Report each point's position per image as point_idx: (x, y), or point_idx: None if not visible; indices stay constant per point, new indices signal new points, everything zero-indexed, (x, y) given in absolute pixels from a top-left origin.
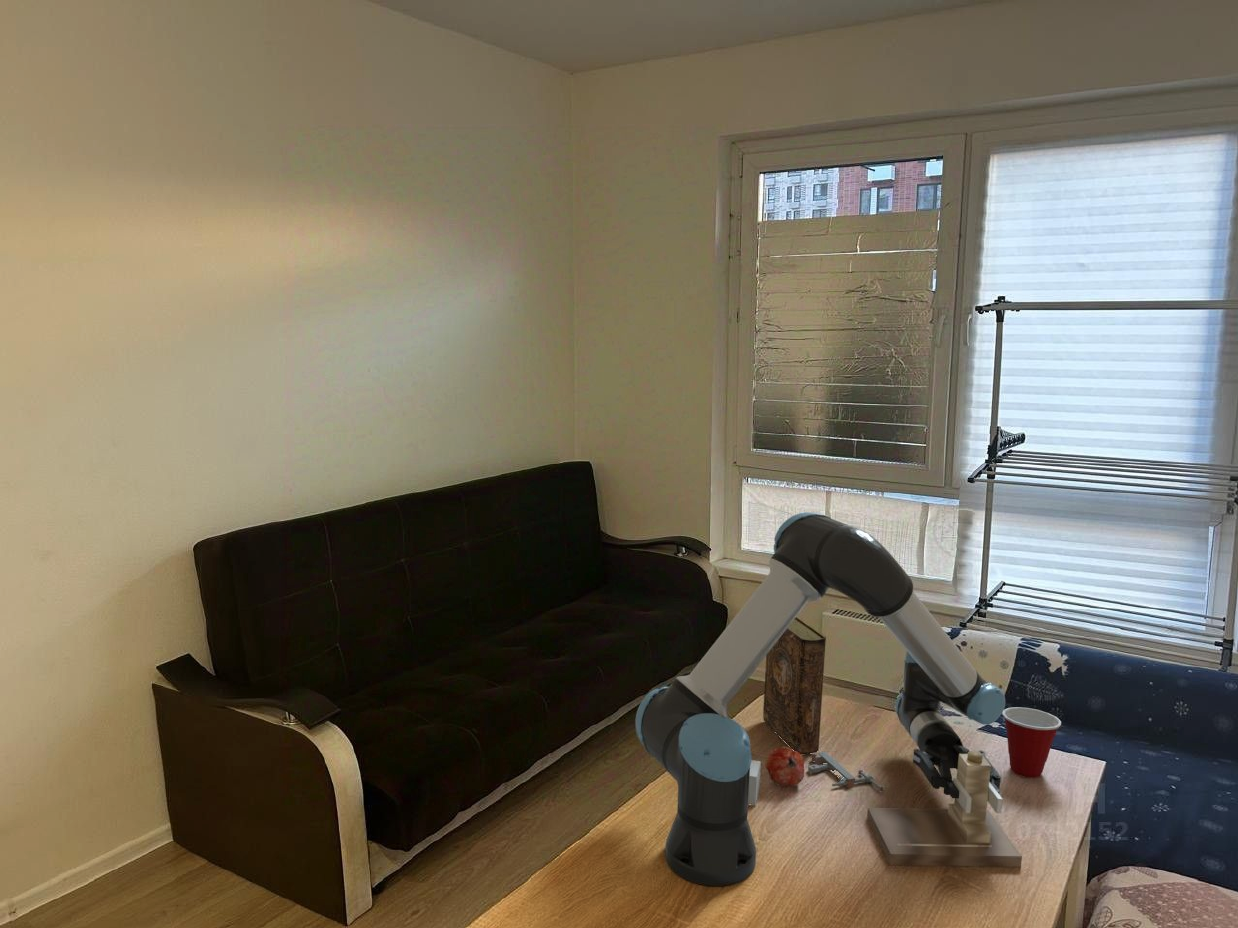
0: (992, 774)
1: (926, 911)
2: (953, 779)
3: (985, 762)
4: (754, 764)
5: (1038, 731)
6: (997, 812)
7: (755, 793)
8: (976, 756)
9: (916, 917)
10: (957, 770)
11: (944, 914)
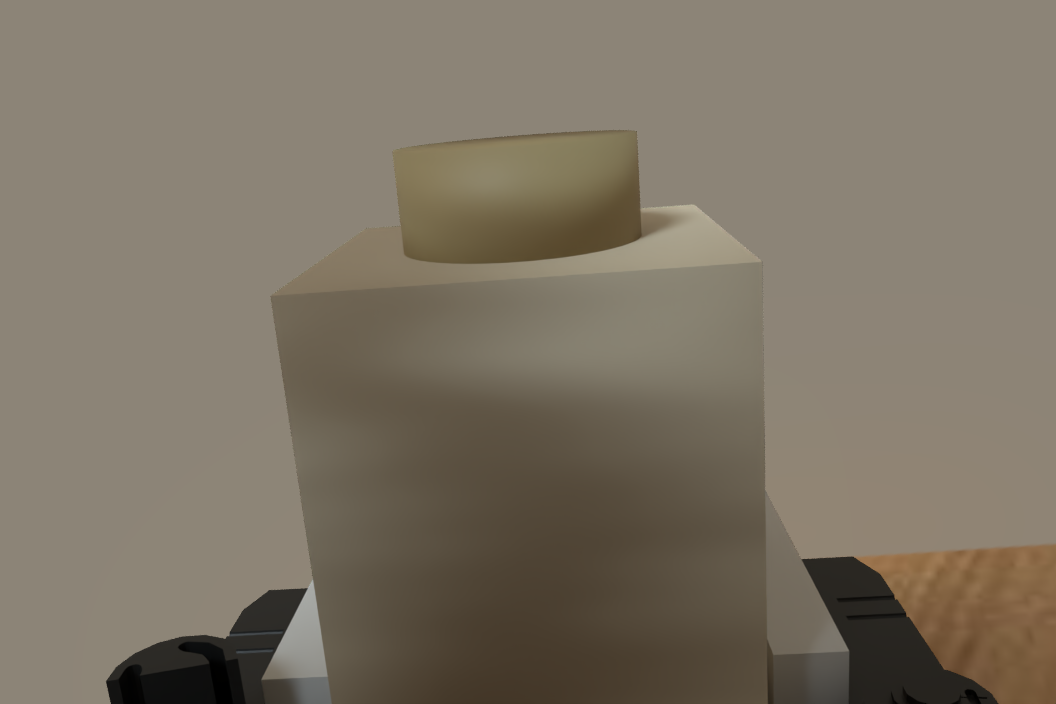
0: (130, 663)
1: (989, 571)
2: (843, 651)
3: (391, 242)
4: None
5: None
6: None
7: None
8: (528, 136)
9: (1030, 548)
10: (764, 617)
11: (904, 566)
